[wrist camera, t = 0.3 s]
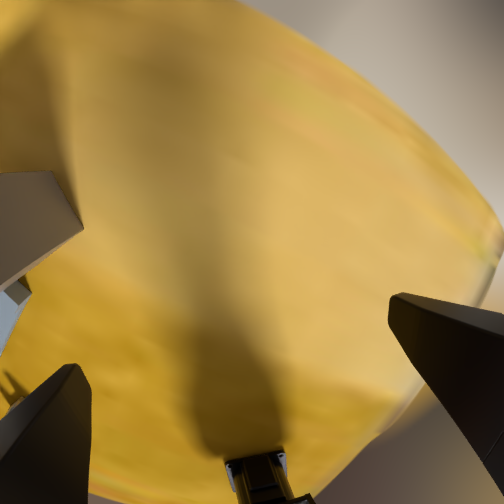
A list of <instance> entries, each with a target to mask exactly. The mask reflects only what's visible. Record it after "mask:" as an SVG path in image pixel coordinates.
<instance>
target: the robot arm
mask: <svg viewBox="0 0 504 504" xmlns="http://www.w3.org/2000/svg"><path fill="white" fill-rule="evenodd" d="M388 324H389V327H390V329H391V330H392V332H393V334H394V335H395V337H396V338H397V340H398V342H399V343H400V345H401V347H402V348H403V350H404V352H405V353H406V355H407V357H408V358H409V360H410V361H411V363H412V364H413V366H414V367H415V369H416V370H417V371H418V373H419V374H420V375H421V377H422V378H423V379H424V381H425V382H426V383H427V385H428V386H429V387H430V389H431V390H432V391H433V393H434V394H435V395H436V397H437V398H438V400H439V401H440V402H441V404H442V405H443V406H444V408H445V409H446V410H447V412H448V413H449V415H450V416H451V418H452V419H453V420H454V422H455V423H456V425H457V426H458V427H459V429H460V430H461V432H462V433H463V435H464V436H465V438H466V439H467V440H468V442H469V443H470V445H471V446H472V448H473V449H474V451H475V452H476V454H477V455H478V457H479V458H480V460H481V461H482V462H483V464H484V466H485V468H486V469H487V471H488V472H489V474H490V475H491V477H492V478H493V480H494V481H495V483H496V485H497V486H498V488H499V490H500V491H501V493H502V494H503V496H504V315H503V314H502V313H498V312H493V311H488V310H484V309H479V308H474V307H469V306H465V305H460V304H455V303H451V302H446V301H441V300H437V299H432V298H427V297H423V296H418V295H413V294H409V293H404V292H402V293H398V294H395V295H393V296H391V298H390V301H389V312H388ZM91 402H92V392H91V387H90V385H89V383H88V381H87V379H86V377H85V375H84V373H83V371H82V369H81V367H80V366H79V365H78V364H76V363H73V364H65V365H63V366H62V367H61V368H60V369H59V370H57V371H56V372H55V373H54V374H53V375H52V376H50V377H49V378H48V379H47V380H46V381H45V382H43V383H42V384H41V385H40V386H39V387H38V388H36V389H35V390H34V391H33V392H32V393H31V394H30V395H28V396H27V397H26V398H25V399H24V400H23V401H22V402H20V403H19V404H18V405H17V406H16V407H15V408H14V409H12V410H11V411H10V412H9V413H8V414H7V415H6V416H5V417H3V418H2V419H1V420H0V504H88V481H89V464H90V450H91ZM225 467H226V470H227V474H228V477H229V480H230V483H231V486H232V490H233V492H236V495H237V499H238V503H239V504H316V503H315V502H314V500H313V498H312V496H311V495H310V493H308V494H305V495H304V496H301V497H297V498H295V497H294V495H293V492H292V490H291V487H290V485H289V482H288V480H287V467H286V454H285V451H283V450H281V451H276V452H272V453H268V454H263V455H258V456H254V457H249V458H243V459H238V460H232V461H227V462H226V463H225Z"/></svg>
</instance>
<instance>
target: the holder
mask: <svg viewBox="0 0 504 504" xmlns="http://www.w3.org/2000/svg"><path fill="white" fill-rule="evenodd" d="M31 294H32V293H31V292H30V291H29V290H28V289H26V288H25V287H24V286H23V285H22V284H21V283H20V282H19V281H18V280H16V281H15V282H14V283H12V284H11V285H10V286H8V287H7V288H6V289H5V290H3V291H2V292H1V293H0V356H1V354H2V352H3V350H4V347H5V345H6V343H7V341H8V339H9V337H10V335H11V332H12V330H13V328H14V326H15V324H16V322H17V320H18V318H19V316H20V314H21V313H22V311H23V309H24V307H25V305H26V303H27V301H28V299H29V298H30V296H31Z"/></svg>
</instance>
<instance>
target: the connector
mask: <svg viewBox="0 0 504 504" xmlns="http://www.w3.org/2000/svg"><path fill="white" fill-rule="evenodd" d="M82 230H84V228H83V226H82V225H81V223H80V221H79V220H78V218H77V216H76V215H75V213H74V211H73V209H72V208H71V206H70V204H69V203H68V201H67V199H66V197H65V195H64V194H63V192H62V190H61V188H60V186H59V185H58V183H57V181H56V179H55V177H54V175H53V173H52V171H31V172H13V173H0V293H1V292H2V291H3V290H5V289H6V288H7V287H8V286H10V285H11V284H12V283H14V282H15V281H16V280H18V279H19V278H20V277H22V276H23V275H24V274H26V273H27V272H28V271H30V270H31V269H32V268H34V267H35V266H37V265H38V264H39V263H40V262H42V261H43V260H44V259H45V258H47V257H48V256H49V255H50V254H52V253H53V252H54V251H56V250H57V249H58V248H59V247H61V246H62V245H63V244H65V243H66V242H67V241H69V240H70V239H71V238H73V237H74V236H75V235H77V234H78V233H79V232H81V231H82Z"/></svg>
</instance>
